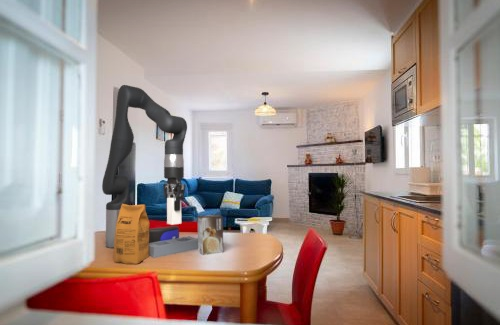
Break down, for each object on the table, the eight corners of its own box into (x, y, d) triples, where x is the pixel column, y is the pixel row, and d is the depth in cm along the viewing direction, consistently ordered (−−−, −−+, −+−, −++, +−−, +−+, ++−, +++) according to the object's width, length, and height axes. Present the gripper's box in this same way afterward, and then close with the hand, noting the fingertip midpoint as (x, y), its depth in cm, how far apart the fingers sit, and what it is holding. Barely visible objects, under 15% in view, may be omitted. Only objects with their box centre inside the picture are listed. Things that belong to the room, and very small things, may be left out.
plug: (167, 223, 119) (167, 197, 119) (176, 222, 122) (176, 197, 122) (172, 224, 116) (172, 198, 116) (181, 223, 119) (181, 197, 119)
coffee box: (218, 251, 131) (217, 214, 132) (223, 254, 126) (223, 215, 126) (197, 254, 127) (197, 215, 128) (202, 257, 122) (202, 217, 122)
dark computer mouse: (145, 253, 130) (145, 230, 130) (142, 250, 134) (142, 229, 134) (181, 247, 139) (181, 226, 139) (178, 245, 143) (178, 225, 143)
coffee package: (127, 256, 125) (128, 202, 126) (152, 258, 121) (153, 203, 122) (109, 262, 116) (109, 204, 117) (135, 265, 112) (135, 205, 112)
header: (144, 256, 125) (144, 243, 125) (189, 247, 139) (189, 236, 139) (154, 260, 118) (154, 247, 118) (199, 250, 132) (199, 239, 133)
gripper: (156, 166, 122) (156, 209, 122) (174, 165, 112) (174, 212, 111) (173, 166, 127) (173, 208, 127) (192, 165, 117) (192, 210, 116)
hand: (174, 209), depth 119 cm, fingers closed on plug, 4 cm apart
